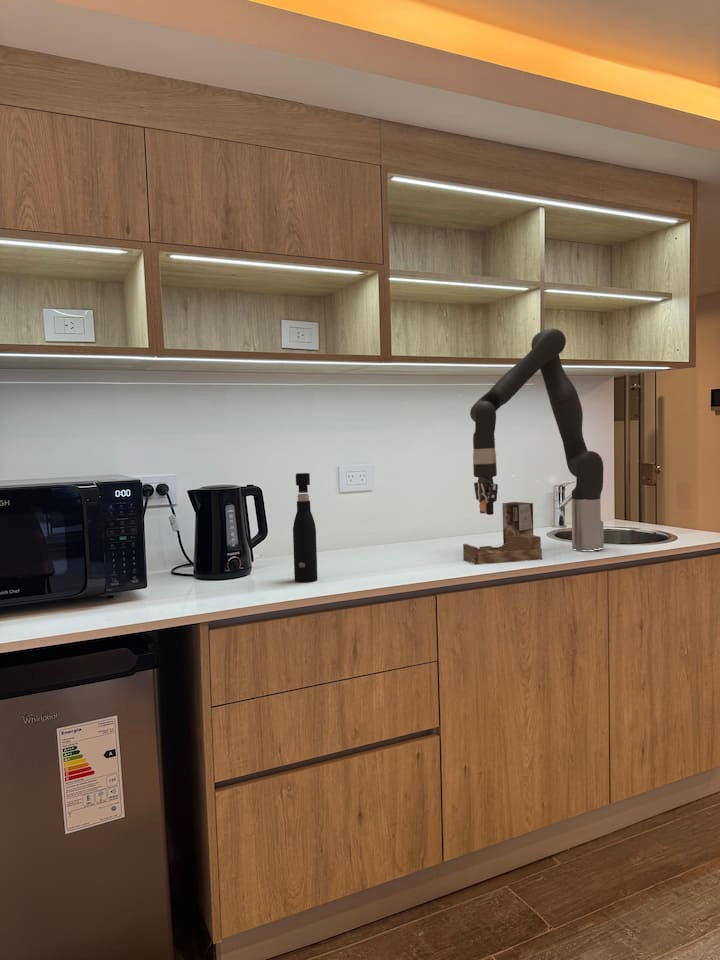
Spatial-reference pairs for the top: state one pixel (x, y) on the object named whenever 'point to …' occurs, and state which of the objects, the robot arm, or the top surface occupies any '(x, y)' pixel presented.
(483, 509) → the ball
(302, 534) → the black bottle
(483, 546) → the tee
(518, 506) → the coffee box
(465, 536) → the top surface
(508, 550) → the lane
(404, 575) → the top surface
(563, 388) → the robot arm
